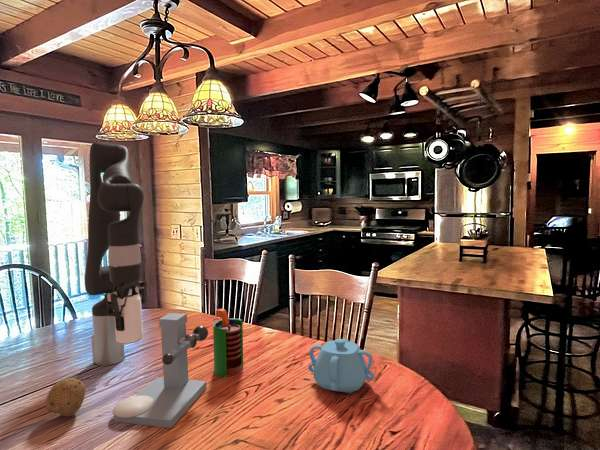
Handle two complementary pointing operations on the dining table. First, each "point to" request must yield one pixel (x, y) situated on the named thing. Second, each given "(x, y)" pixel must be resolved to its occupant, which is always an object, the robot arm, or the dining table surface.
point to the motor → (227, 345)
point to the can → (130, 320)
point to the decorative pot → (340, 366)
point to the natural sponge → (66, 397)
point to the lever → (186, 344)
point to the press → (164, 384)
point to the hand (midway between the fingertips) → (129, 325)
